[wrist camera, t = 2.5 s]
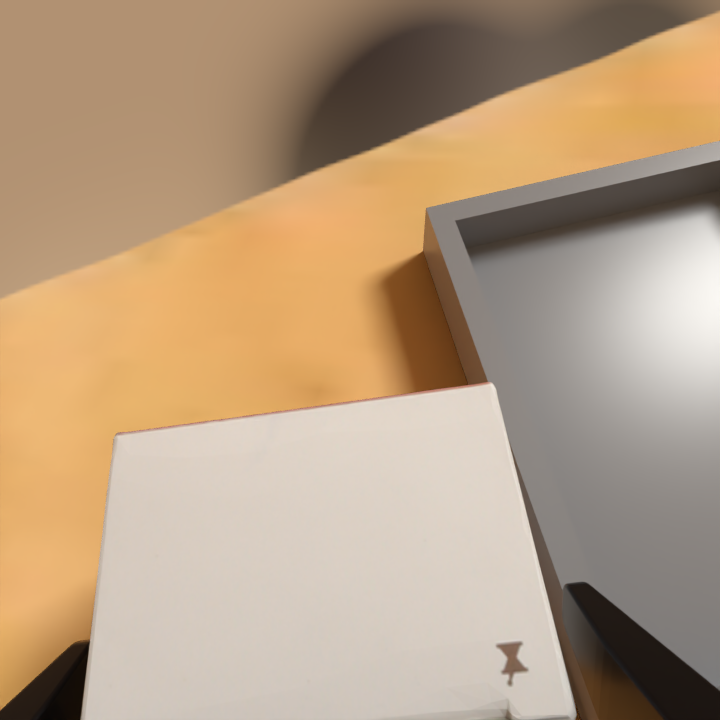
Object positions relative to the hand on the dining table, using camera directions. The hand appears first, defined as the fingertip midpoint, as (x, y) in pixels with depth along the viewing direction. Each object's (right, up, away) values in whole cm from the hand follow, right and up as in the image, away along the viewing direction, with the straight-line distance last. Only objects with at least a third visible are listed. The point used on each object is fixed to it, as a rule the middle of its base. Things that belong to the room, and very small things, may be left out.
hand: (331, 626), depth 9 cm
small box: (+1, -3, +9) cm, 9 cm away
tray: (+14, +3, +10) cm, 17 cm away
